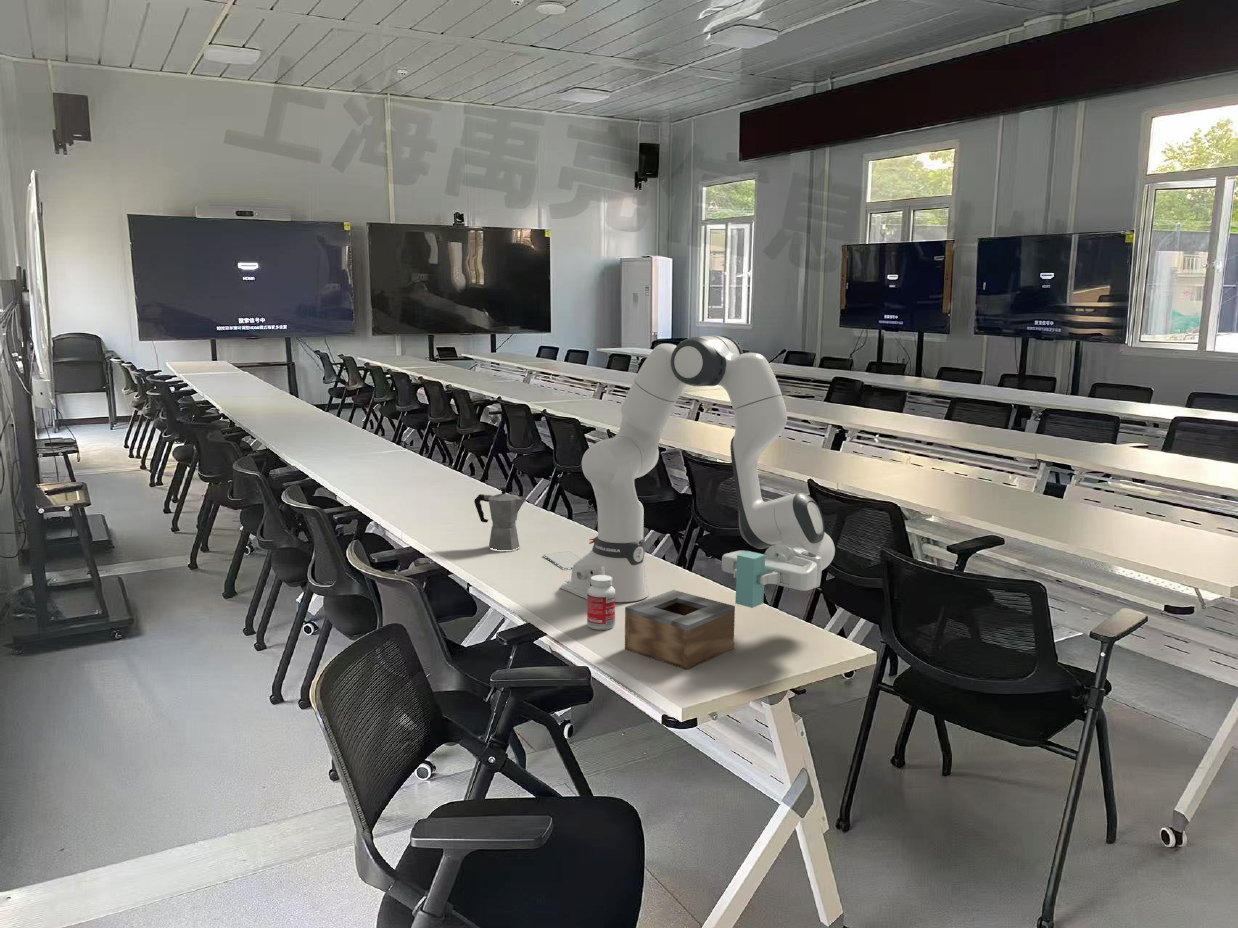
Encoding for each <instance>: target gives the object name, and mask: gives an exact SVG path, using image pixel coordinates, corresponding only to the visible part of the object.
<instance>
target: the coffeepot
mask: <svg viewBox="0 0 1238 928" xmlns="http://www.w3.org/2000/svg"><path fill="white" fill-rule="evenodd" d="M500 490H501V493H498V494H494V495H492V494H482V493H481V494H478V495H477V497H476V498H475V499H474V506H475V508H476V512H477V514H478V517H479V520H480V522H482V523H488V522H489V519H487V518H485V517H484V516H485V513H484V511H483V509H482V503H481V502H487V503H488V505H489V511H490V517H491V521H492V526H491V530H490V537H489V545H488V547H489V546H490V548H493V549H497V550H513V549H516V548H518V547H520V543H519V537H518V535H519V534H518V529H517V525H516V524H517V523H516V522H517V520H518V513H519V511H520V509H521V507H522V506H523V504H524V503H525V502H527V500H526V498H524V497H520V496H519V495H515V494H512V493H511V494H510V493H506V492H507V487H505V486H504V487H500Z"/></svg>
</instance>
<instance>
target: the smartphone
mask: <svg viewBox="0 0 1238 928" xmlns="http://www.w3.org/2000/svg"><path fill="white" fill-rule="evenodd" d="M544 556H545V557H547V558H548V559H549V560H551V561H552V562H553V563H556V565H559V566H560V567H561V568H564V569H568V568H573V566H574V564H575V563H576V562H577V561H578V560H580V559H581V558H582V557H579V556H578V555H576V554H575V553H573V552H571V551H562V552H553V553H546V554H545V553H544V554H543V557H544ZM549 560H548V561H549ZM552 562H551V563H552ZM553 563H552V564H553ZM556 565H555V566H556ZM560 567H559V568H560ZM561 568H560V569H561Z"/></svg>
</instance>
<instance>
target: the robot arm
mask: <svg viewBox="0 0 1238 928" xmlns="http://www.w3.org/2000/svg"><path fill="white" fill-rule="evenodd" d="M686 385H688V386H692V387H715V386H717V385H718V386H720V387H722V388H723V389H724V390H725V391H726V393H727V395H728V398H729V400H730V403H731V406H732V410H733V414H734V419H735V420H734V421H735V430H734V435H733V437H732V438H731V440H730V447H729V448H730V458H731V459H730V460H731V466H732V473H733V478H734V484H735V485H734V486H735V491H736V498H737V505H738V529H739V531H740V532H739V533H740V535H741V537H742V538H743V540H744V541H746V543H747V544H749V545H750V546H751V547H753V548H755V549H758V550H764V549H766V550H765V552H764V553H762V554H763V555H765V574H760V575H757V581H756V582H757V584H760V585H764V586H765V585H772V584H773V585H777V586H781V587H785V588H790V589H792V590H793V589H794V590H796V591H810V590H812V589H817V588H818V587H819V588H820V586H821V579H822V571H823V570H825V569H826V568H827V567H828V566H829V565H830V564H831V563H832V561H833V559H834V557H835V552H836V548H835V544H834V541H833V539H832V538H831V536H830V535H829V534H828V533H826V532H825V530H826V529H825V527H826V525H825V519H824V515H823V512H822V509H821V507H820V506H819V505H818V503H817V502H816V500H814V499H813V498H812V497H811V496H809V495H808V494H806V493H805V492H804V493H803V492H797V493H792V494H787V495H784V496H781V497H778V498H775V499H771V500H767V501H764V500H763V498H762V491H761V486H760V485H761V484H760V479H759V473H758V472H759V471H758V461H759V458H760V457H761V455H762V453H763V452H764V451H765V450H766V449H767V448H768V447H770V446H771V444H773V443H774V442H775V441H776V440H777V439H778V438H779V437H780V436H781V434H782V433H783V431H784V430H785V427H786V425H787V422H788V411H787V407H786V403H785V399H784V397H783V394H782V391H781V388H780V385H779V382H778V379H777V378H776V375H775V373H774V371H773V369H772V366H771V365H770V363H769V361H768V360H767V358H766V357H765V356H764V355H762V354H760V353H756V352H744V351H743V349H742V347H741V345H740V344H739V342H737V341H736V340H735V339H732V338H731V337H729V336H724V335H714V334H713V335H712V334H708V335H707V334H706V335H701V336H693V337H689V338H686V339H684V340H682V341H680V342H679V343H678V344H677V345H676V344H673V343H661V344H658V345H656V346H655V347H654V348H653V350H651V352H650V353H649V355H648V356H647V357H646V359H645V360H644V362H643V363H642V365H641V367H639V370H638V372H637V374H636V375H635V378H634V379H633V382H632V384H631V386H630V387H629V390H628V392H627V394H626V395H625V398H624V400H623V403H622V404H621V407H620V412H621V416H622V417H621V418H622V419H621V423H620V427H619V430H618V432H617V433H616V435H614V436H613V437H609V438H605V439H602V440H599V441H597V442H596V443H594V444H593V445H592V446H590V447H589V448H587V450H586V451H585V452H584V454H583V455H582V459H581V469H582V472H583V475H584V477H585V478H586V479H587V481H588V482H589V483H590V484H591V486H592V489H593V492H594V497H595V500H596V505H597V506H596V507H597V535H596V536H595V537H594V538H593V537H592V538H590V539H589V541H590V542H589V543H588V544H590V545H591V544H593V546H592V549H591V550H590V552H588V553H587V554H586V555H584V556H583V557H580V558H581V559H580V560H578V561H577V562H576V563H575V564H574V566H573V568H572V569H571V574H570V576H571V577H570V578H569V579H567V580H565V581H563V582H562V584H561V589H562V590H565V591H567V592H569V593H571V594H573V595H576V596H578V597H581V598H583V599H584V600H587V591H588V589H589V587H591V586H592V585H591V577H592V576H595V575H607V576H610V577H612V585H611V586H612V587H613V588H614V589H615V603H629V602H630V603H631V602H636V601H637V602H638V601H640V600H643V599H644V600H645V599H646V598H647V597H648V596H650V592H649V587H648V584H647V578H646V577H647V576H646V569H645V562H644V561H645V559H644V558H645V554H646V538H645V536H644V518H645V517H644V516H645V514H644V506H643V503H642V502H641V501H639V499H638V496H637V495H638V494H637V491H636V487H635V480H636V479H637V478H641V477H644V476H645V475H646V474H648V473H650V471H651V470H652V469H654V468H655V466H656V465H657V464H658V462H659V461H658V460H659V457H660V456H659V455H660V451H659V445H660V441H661V437H662V434H663V431H664V428H665V425H666V423H667V421H668V419H669V417H670V415H671V413H672V411H673V410H674V407H675V405H676V403H677V401H678V400H679V397H680V396H681V394H682V392H683V389H684V388H685V386H686ZM748 551H749V552H752V551H751V550H736V551H731V552H729V553H728V552H727V553H724V554H723V555H722V557H721V568H722V569H721V570H722V571H723V572H724V573H728V574H732V575H733V578H734V579H736V574H737V555H739V554H742V553H745V552H748ZM753 552H754V553H758V554H761V553H760V552H756V551H753Z"/></svg>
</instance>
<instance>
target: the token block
mask: <svg viewBox="0 0 1238 928" xmlns="http://www.w3.org/2000/svg"><path fill="white" fill-rule="evenodd" d="M747 551H748V552H745V553H742V554H739V555H737V574H736V578H735V580H736V581H735V582H736V583H735V602H734V603H735V604H737V605H739V606H743V607H747V608H750V609H753V608H756V607H758V606H760V605H762V604H764V597H765V595H764V594H765V593H764V592H765V585H760V584H757V582H756V581H757V575H760V574H765V555H763V554H764V553H760V554H758V553H759V552H756V553H754V552H755V551H751V552H749V551H750V550H747Z"/></svg>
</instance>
